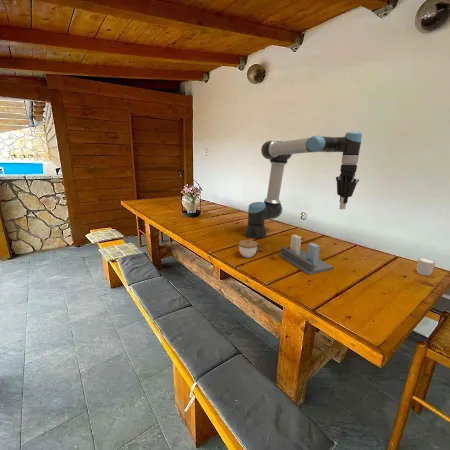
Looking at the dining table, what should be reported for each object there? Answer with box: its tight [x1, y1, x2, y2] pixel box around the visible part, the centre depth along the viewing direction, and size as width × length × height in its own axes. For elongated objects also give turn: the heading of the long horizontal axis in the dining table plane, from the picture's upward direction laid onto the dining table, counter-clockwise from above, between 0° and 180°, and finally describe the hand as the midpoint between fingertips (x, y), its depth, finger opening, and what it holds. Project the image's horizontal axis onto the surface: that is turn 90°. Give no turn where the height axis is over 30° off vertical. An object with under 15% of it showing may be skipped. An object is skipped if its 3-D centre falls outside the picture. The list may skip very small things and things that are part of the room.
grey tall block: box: [306, 242, 321, 267], centre depth 124 cm, size 5×3×11 cm, turn 22°
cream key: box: [289, 234, 302, 255], centre depth 137 cm, size 5×3×11 cm, turn 22°
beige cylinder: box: [416, 257, 437, 277], centre depth 122 cm, size 7×7×7 cm
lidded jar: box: [238, 239, 258, 259], centre depth 139 cm, size 11×11×9 cm
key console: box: [278, 246, 334, 275], centre depth 132 cm, size 25×16×5 cm, turn 22°
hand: (342, 208), depth 132 cm, fingers closed
